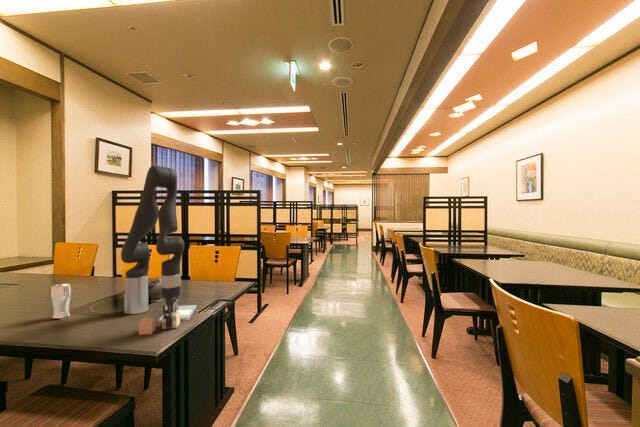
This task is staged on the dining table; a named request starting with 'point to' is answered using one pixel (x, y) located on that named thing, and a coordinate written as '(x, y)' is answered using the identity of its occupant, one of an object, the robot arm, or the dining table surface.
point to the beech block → (174, 320)
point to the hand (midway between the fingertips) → (171, 324)
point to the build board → (184, 312)
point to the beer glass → (61, 300)
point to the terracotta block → (146, 326)
